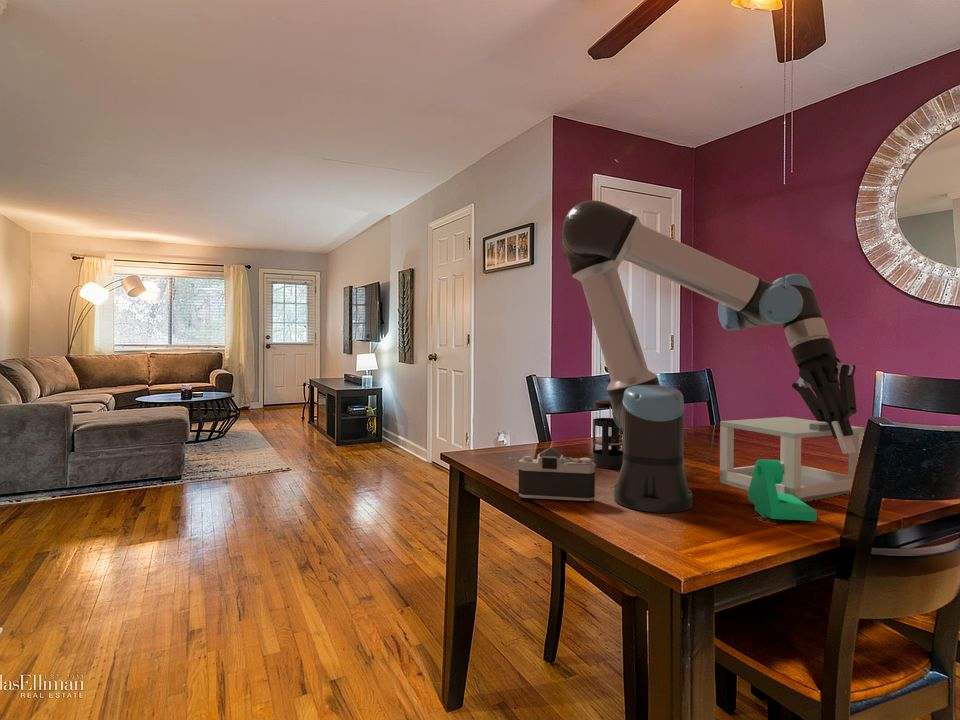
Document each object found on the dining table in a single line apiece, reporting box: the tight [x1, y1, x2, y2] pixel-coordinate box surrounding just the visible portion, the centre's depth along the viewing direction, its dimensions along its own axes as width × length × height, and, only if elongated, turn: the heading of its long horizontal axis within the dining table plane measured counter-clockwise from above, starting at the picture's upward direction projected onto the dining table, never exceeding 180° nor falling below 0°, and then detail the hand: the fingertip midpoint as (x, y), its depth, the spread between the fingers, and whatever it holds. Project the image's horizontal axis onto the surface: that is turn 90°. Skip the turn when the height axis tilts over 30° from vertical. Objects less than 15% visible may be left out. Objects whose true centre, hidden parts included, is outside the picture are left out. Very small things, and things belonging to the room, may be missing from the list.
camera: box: [517, 447, 596, 502], centre depth 109 cm, size 16×9×10 cm, turn 80°
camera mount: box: [747, 458, 818, 522], centre depth 96 cm, size 12×8×10 cm, turn 170°
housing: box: [719, 425, 864, 503], centre depth 115 cm, size 22×18×13 cm
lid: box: [719, 416, 866, 439], centre depth 115 cm, size 22×18×2 cm
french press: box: [592, 378, 623, 470], centre depth 138 cm, size 12×9×23 cm
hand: (849, 453), depth 102 cm, fingers closed
